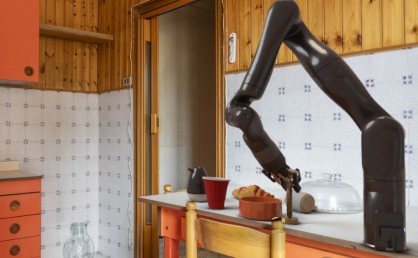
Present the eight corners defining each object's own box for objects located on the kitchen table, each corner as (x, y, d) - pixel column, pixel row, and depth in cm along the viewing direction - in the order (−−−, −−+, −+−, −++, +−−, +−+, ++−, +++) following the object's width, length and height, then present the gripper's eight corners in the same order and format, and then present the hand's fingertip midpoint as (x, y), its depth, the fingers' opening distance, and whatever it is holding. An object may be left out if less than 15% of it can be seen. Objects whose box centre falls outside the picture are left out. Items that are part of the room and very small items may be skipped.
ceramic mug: (301, 214, 142) (301, 192, 142) (284, 210, 150) (284, 189, 150) (323, 212, 146) (323, 191, 146) (305, 208, 154) (305, 188, 154)
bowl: (283, 222, 131) (283, 204, 131) (238, 219, 135) (238, 201, 135) (280, 213, 144) (280, 197, 144) (239, 211, 148) (239, 195, 148)
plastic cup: (236, 209, 153) (236, 177, 153) (212, 211, 149) (212, 179, 149) (220, 204, 163) (220, 175, 163) (197, 206, 159) (197, 176, 159)
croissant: (228, 205, 180) (222, 190, 178) (239, 192, 186) (234, 177, 183) (271, 211, 164) (265, 194, 161) (282, 197, 169) (277, 181, 167)
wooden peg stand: (299, 225, 127) (298, 179, 127) (281, 224, 128) (281, 178, 128) (297, 221, 132) (297, 177, 132) (280, 220, 133) (280, 177, 133)
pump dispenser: (181, 200, 174) (181, 165, 174) (201, 198, 179) (201, 164, 179) (194, 203, 165) (194, 166, 165) (215, 201, 169) (215, 165, 169)
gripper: (292, 146, 120) (318, 184, 126) (255, 145, 133) (280, 179, 139) (280, 164, 118) (307, 202, 124) (244, 161, 130) (270, 196, 136)
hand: (293, 190), depth 131 cm, fingers open, 3 cm apart
